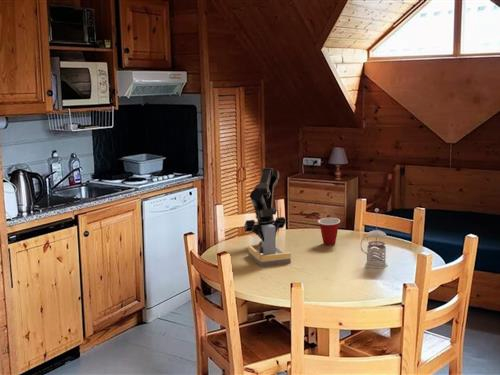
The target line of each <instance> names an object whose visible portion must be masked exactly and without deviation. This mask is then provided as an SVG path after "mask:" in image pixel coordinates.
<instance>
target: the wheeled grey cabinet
mask: <svg viewBox="0 0 500 375" xmlns="http://www.w3.org/2000/svg"><path fill="white" fill-rule="evenodd" d="M261 231H262V234H263V236H264V241H262V240H261V241H262V244H261V246H259V247H258V250H259V253H260V254H261V253H262V254H263V255H271V254H276V248H277V247H276V241H277V234H276V235H275V226H274V225H272V224H269V225H261Z"/></svg>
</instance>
